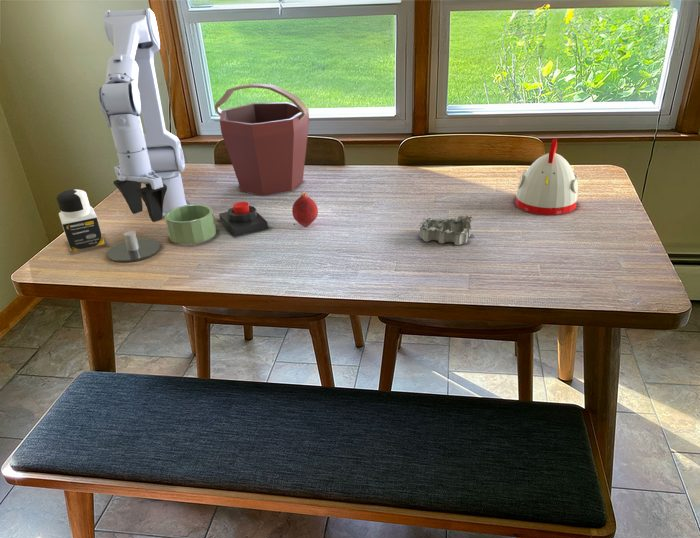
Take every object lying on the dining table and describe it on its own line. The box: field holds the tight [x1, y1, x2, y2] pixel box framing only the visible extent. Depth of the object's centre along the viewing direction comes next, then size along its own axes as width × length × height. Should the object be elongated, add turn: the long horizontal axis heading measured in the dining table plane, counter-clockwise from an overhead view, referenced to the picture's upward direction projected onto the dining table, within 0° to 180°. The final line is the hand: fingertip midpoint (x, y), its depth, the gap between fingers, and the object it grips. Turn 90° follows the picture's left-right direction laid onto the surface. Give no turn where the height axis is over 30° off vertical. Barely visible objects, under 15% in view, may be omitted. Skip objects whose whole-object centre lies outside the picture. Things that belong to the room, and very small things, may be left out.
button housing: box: [218, 205, 269, 237], centre depth 142 cm, size 11×8×4 cm
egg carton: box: [418, 215, 473, 246], centre depth 132 cm, size 11×8×4 cm
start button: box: [232, 201, 250, 214], centre depth 141 cm, size 4×4×2 cm
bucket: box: [214, 82, 310, 196], centre depth 159 cm, size 24×22×25 cm
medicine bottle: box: [56, 188, 105, 252], centre depth 134 cm, size 7×7×12 cm
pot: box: [164, 203, 217, 245], centre depth 137 cm, size 10×10×6 cm
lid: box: [106, 230, 162, 264], centre depth 131 cm, size 11×11×5 cm
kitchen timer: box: [515, 138, 579, 216], centre depth 142 cm, size 14×14×15 cm
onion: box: [291, 191, 319, 228], centre depth 139 cm, size 6×6×8 cm
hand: (147, 216), depth 127 cm, fingers open, 7 cm apart
